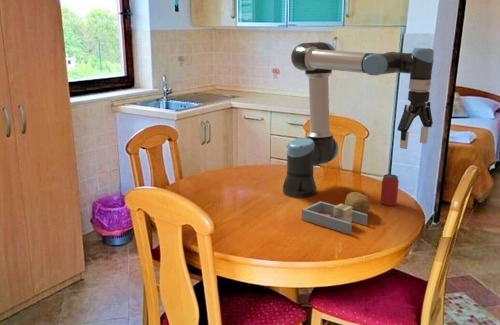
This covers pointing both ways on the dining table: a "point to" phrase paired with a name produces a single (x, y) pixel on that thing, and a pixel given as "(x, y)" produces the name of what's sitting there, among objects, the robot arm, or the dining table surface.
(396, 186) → the beer can
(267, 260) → the dining table surface
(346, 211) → the block
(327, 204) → the u-shaped frame
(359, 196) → the potato
